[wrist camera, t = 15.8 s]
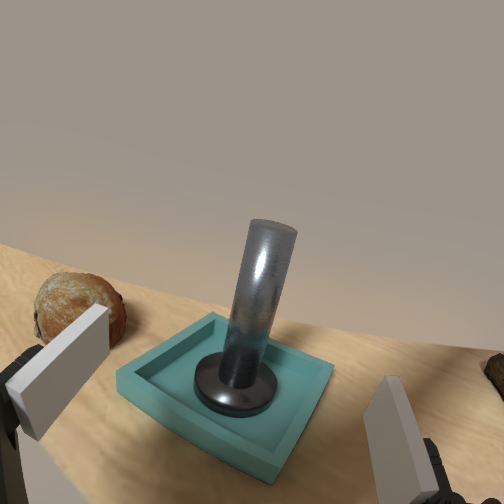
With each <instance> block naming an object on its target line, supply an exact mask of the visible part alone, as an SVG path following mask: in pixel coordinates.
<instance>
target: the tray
mask: <svg viewBox="0 0 504 504" xmlns="http://www.w3.org/2000/svg"><path fill="white" fill-rule="evenodd" d="M228 323H229V319H227V318H225V317H222V316H220V315H218V314H216V313H214V312H211V313H210V314H208V315H206V316H205V317H203V318H202V319H200V320H198V321H197V322H195V323H194V324H192V325H190V326H189V327H187V328H186V329H184V330H182V331H181V332H179V333H177V334H176V335H174V336H173V337H171V338H169V339H168V340H166V341H164V342H163V343H161V344H160V345H158V346H156V347H155V348H153V349H151V350H150V351H148V352H146V353H145V354H143V355H141V356H140V357H138V358H137V359H135V360H133V361H132V362H130V363H128V364H127V365H125V366H123V367H122V368H120V369H118V370H116V382H117V392H118V393H119V394H120V395H122V396H123V397H124V398H126V399H127V400H128V401H130V402H131V403H132V404H134V405H135V406H136V407H138V408H139V409H141V410H142V411H143V412H145V413H146V414H148V415H149V416H150V417H152V418H153V419H155V420H156V421H158V422H159V423H161V424H162V425H164V426H165V427H167V428H168V429H170V430H171V431H173V432H174V433H176V434H177V435H179V436H181V437H182V438H184V439H185V440H187V441H189V442H190V443H192V444H194V445H195V446H197V447H199V448H200V449H202V450H204V451H205V452H207V453H209V454H211V455H212V456H214V457H216V458H218V459H220V460H221V461H223V462H225V463H227V464H229V465H231V466H233V467H235V468H237V469H238V470H240V471H242V472H244V473H246V474H248V475H250V476H253V477H255V478H257V479H259V480H261V481H263V482H265V483H267V484H270V485H272V484H273V482H274V481H275V479H276V477H277V476H278V474H279V472H280V471H281V469H282V467H283V466H284V464H285V462H286V460H287V459H288V457H289V455H290V453H291V452H292V450H293V448H294V446H295V444H296V443H297V441H298V439H299V437H300V435H301V433H302V432H303V430H304V428H305V426H306V424H307V422H308V420H309V418H310V416H311V414H312V412H313V410H314V408H315V406H316V404H317V402H318V400H319V398H320V396H321V394H322V392H323V390H324V388H325V386H326V384H327V382H328V380H329V377H330V375H331V373H332V371H333V368H334V366H335V365H333V364H331V363H328V362H326V361H323V360H321V359H318V358H316V357H313V356H311V355H309V354H306V353H304V352H301V351H299V350H297V349H294V348H292V347H289V346H287V345H285V344H282V343H280V342H278V341H276V340H273V339H271V338H268V341H267V345H266V348H265V351H264V355H263V358H262V362H263V363H265V364H266V365H267V366H268V367H269V368H270V369H271V370H272V371H273V372H274V374H275V376H276V378H277V383H278V385H277V390H276V393H275V396H274V398H273V401H272V403H271V405H270V407H269V408H268V409H267V410H266V411H265V412H263V413H261V414H259V415H257V416H254V417H249V418H232V417H227V416H223V415H220V414H217V413H215V412H213V411H212V410H210V409H208V408H207V407H206V406H204V405H203V404H202V403H201V402H200V401H199V399H198V398H197V396H196V394H195V392H194V388H193V382H194V375H195V369H196V366H197V364H198V362H199V361H200V360H201V359H202V358H204V357H205V356H207V355H209V354H212V353H216V352H223V347H224V342H225V338H226V333H227V328H228Z"/></svg>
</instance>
